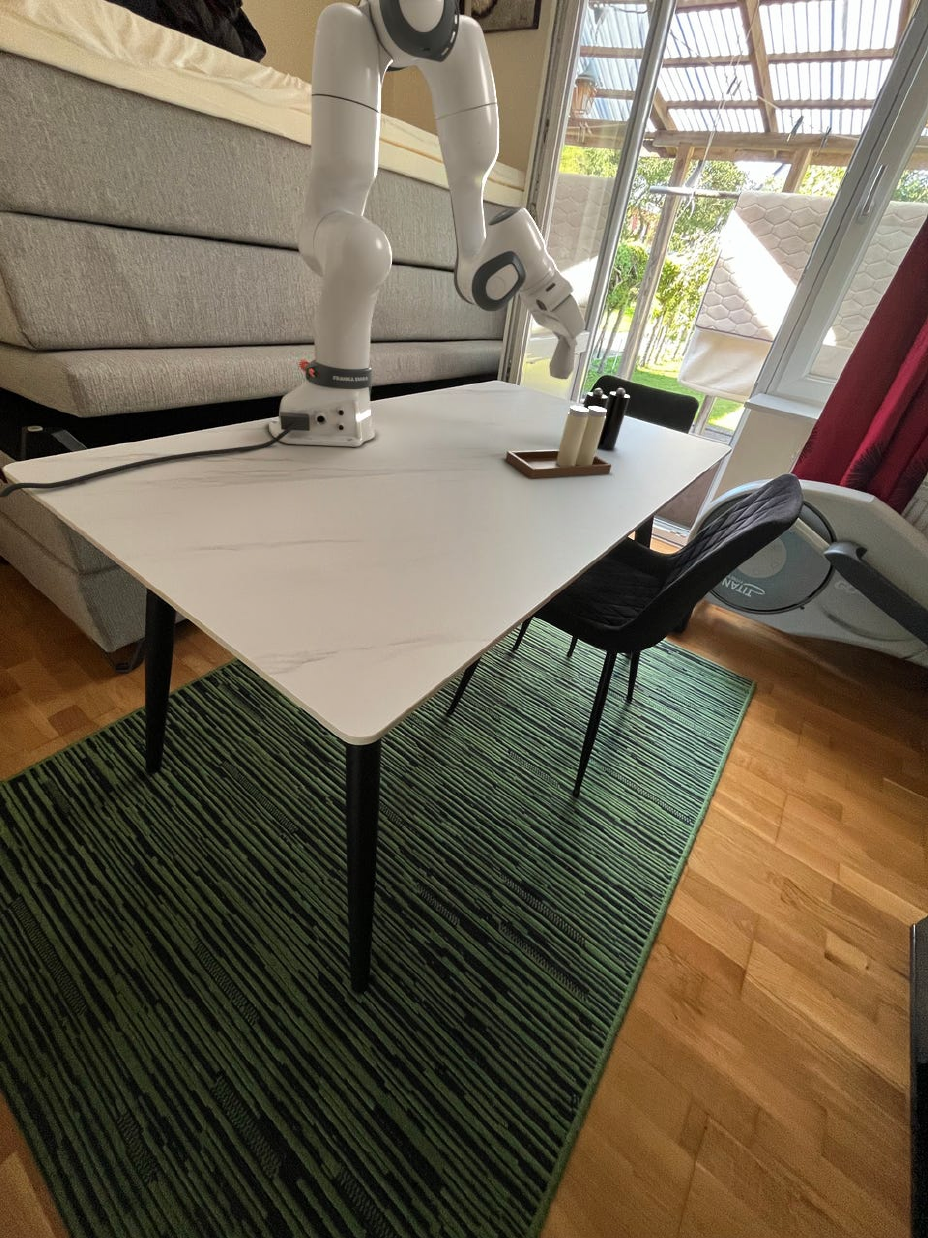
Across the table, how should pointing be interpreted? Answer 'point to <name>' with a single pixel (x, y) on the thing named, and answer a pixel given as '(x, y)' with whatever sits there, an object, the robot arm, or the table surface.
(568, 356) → the salt shaker
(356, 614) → the table surface
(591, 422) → the cream shaker
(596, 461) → the walnut tray
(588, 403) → the pepper mill
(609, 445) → the pepper mill
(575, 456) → the cream shaker
